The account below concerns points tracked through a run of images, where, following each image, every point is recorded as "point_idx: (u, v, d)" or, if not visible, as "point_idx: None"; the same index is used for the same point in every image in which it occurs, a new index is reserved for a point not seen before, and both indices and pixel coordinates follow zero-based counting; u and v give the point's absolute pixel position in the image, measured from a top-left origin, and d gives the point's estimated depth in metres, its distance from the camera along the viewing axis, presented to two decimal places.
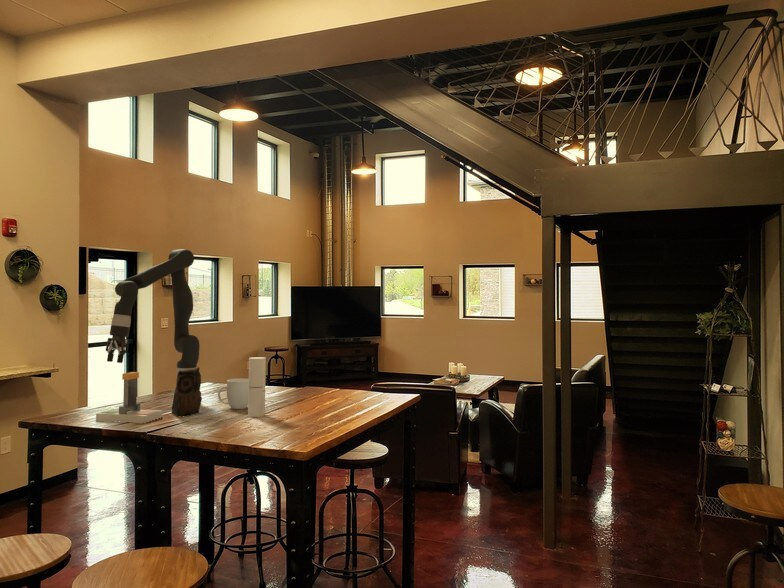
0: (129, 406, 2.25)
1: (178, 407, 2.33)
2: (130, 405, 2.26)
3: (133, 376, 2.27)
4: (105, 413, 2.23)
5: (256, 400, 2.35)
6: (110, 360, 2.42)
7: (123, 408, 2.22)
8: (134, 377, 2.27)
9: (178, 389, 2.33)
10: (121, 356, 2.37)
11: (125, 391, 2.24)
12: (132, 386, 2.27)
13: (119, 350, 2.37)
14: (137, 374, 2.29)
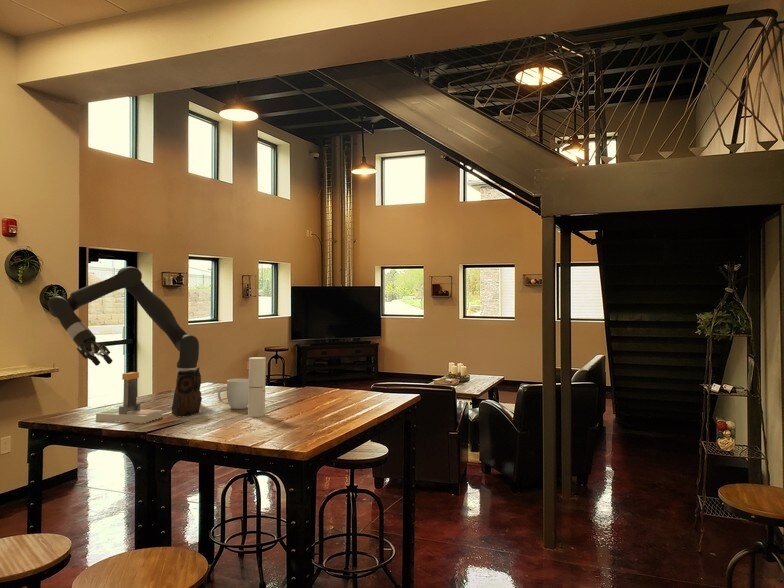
0: (129, 406, 2.25)
1: (178, 407, 2.33)
2: (130, 405, 2.26)
3: (133, 376, 2.27)
4: (105, 413, 2.23)
5: (256, 400, 2.35)
6: (109, 361, 2.33)
7: (123, 408, 2.22)
8: (134, 377, 2.27)
9: (178, 389, 2.33)
10: (92, 359, 2.25)
11: (125, 391, 2.24)
12: (132, 386, 2.27)
13: None
14: (137, 374, 2.29)
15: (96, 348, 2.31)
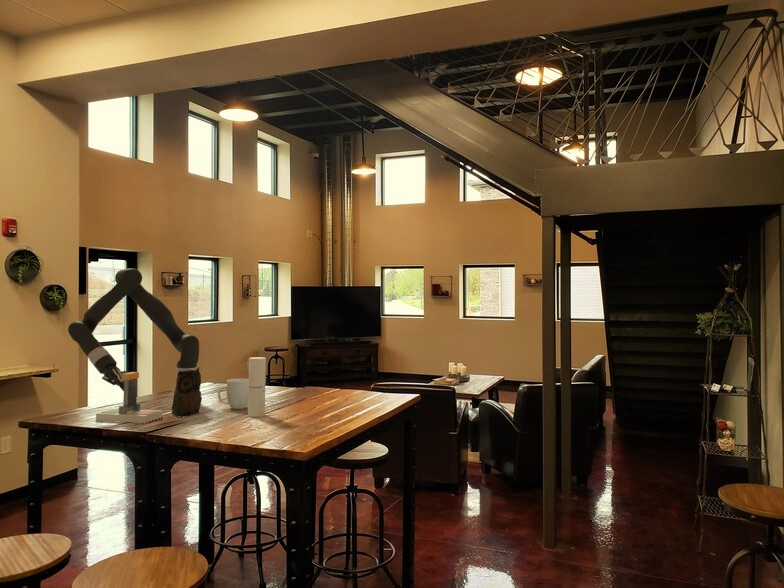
0: (129, 406, 2.25)
1: (178, 407, 2.33)
2: (130, 405, 2.26)
3: (133, 377, 2.27)
4: (105, 413, 2.23)
5: (256, 400, 2.35)
6: None
7: (123, 408, 2.22)
8: (134, 377, 2.27)
9: (178, 389, 2.33)
10: (120, 386, 2.27)
11: (125, 391, 2.24)
12: (132, 386, 2.27)
13: None
14: (137, 374, 2.29)
15: None
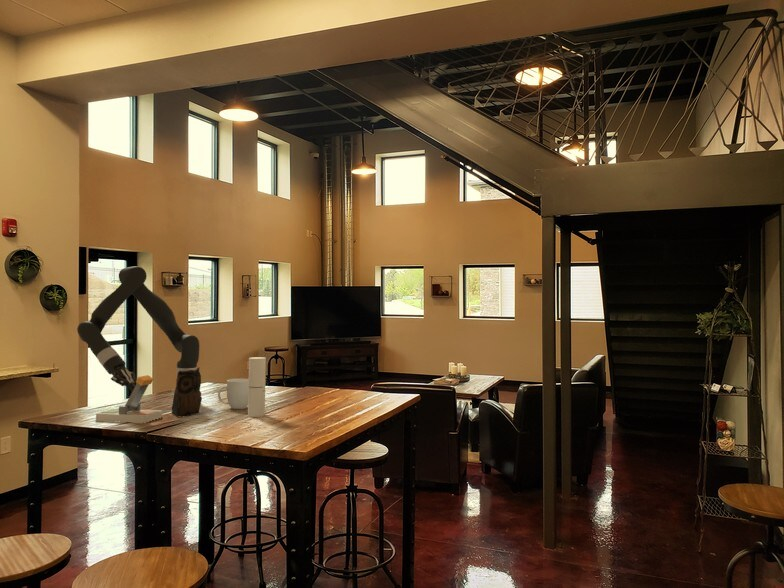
0: (130, 408, 2.25)
1: (178, 407, 2.33)
2: (131, 407, 2.26)
3: (146, 383, 2.25)
4: (105, 413, 2.23)
5: (256, 400, 2.35)
6: None
7: (123, 408, 2.22)
8: (147, 383, 2.26)
9: (178, 389, 2.33)
10: (129, 387, 2.26)
11: (133, 393, 2.24)
12: (141, 391, 2.26)
13: None
14: (151, 380, 2.28)
15: None
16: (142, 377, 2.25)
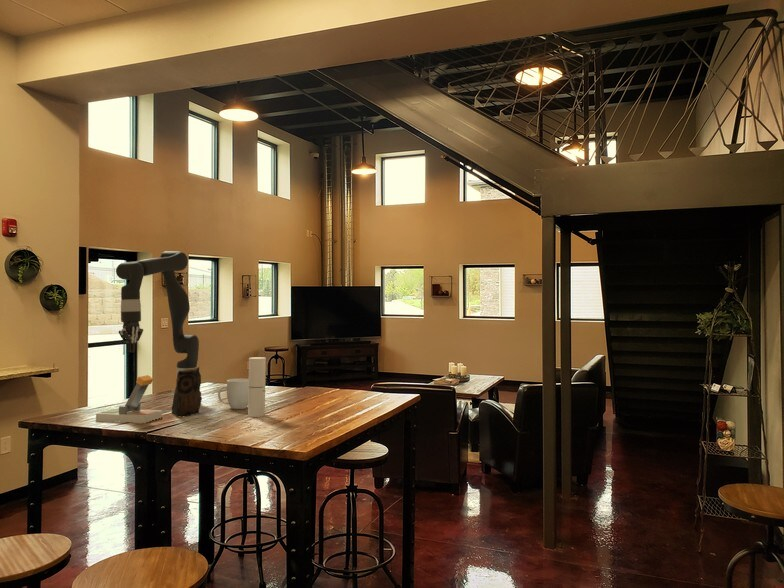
0: (130, 408, 2.25)
1: (178, 407, 2.33)
2: (131, 407, 2.26)
3: (146, 383, 2.25)
4: (105, 413, 2.23)
5: (256, 400, 2.35)
6: None
7: (123, 408, 2.22)
8: (147, 383, 2.26)
9: (178, 389, 2.33)
10: (128, 345, 2.25)
11: (133, 393, 2.24)
12: (141, 391, 2.26)
13: None
14: (151, 380, 2.28)
15: None
16: (142, 377, 2.25)
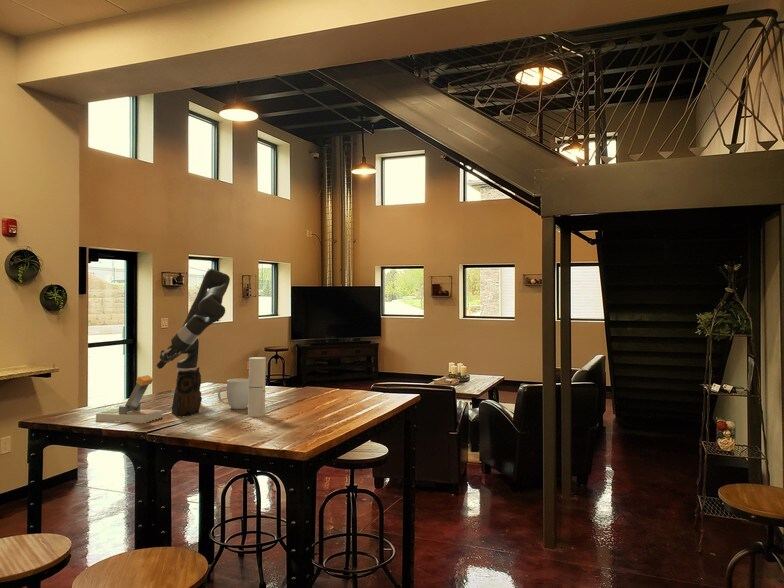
0: (130, 408, 2.25)
1: (178, 407, 2.33)
2: (131, 407, 2.26)
3: (146, 383, 2.25)
4: (105, 413, 2.23)
5: (256, 400, 2.35)
6: None
7: (123, 408, 2.22)
8: (147, 383, 2.26)
9: (178, 389, 2.33)
10: (160, 362, 2.23)
11: (133, 393, 2.24)
12: (141, 391, 2.26)
13: None
14: (151, 380, 2.28)
15: None
16: (142, 377, 2.25)
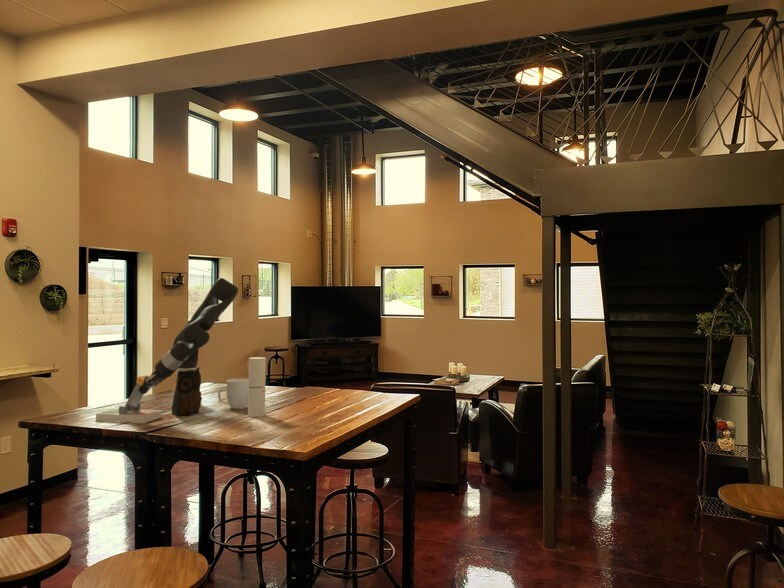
0: (130, 408, 2.25)
1: (178, 407, 2.33)
2: (131, 407, 2.26)
3: None
4: (105, 413, 2.23)
5: (256, 400, 2.35)
6: None
7: (123, 408, 2.22)
8: None
9: (178, 389, 2.33)
10: (144, 388, 2.24)
11: (133, 393, 2.24)
12: None
13: None
14: None
15: None
16: (142, 377, 2.25)
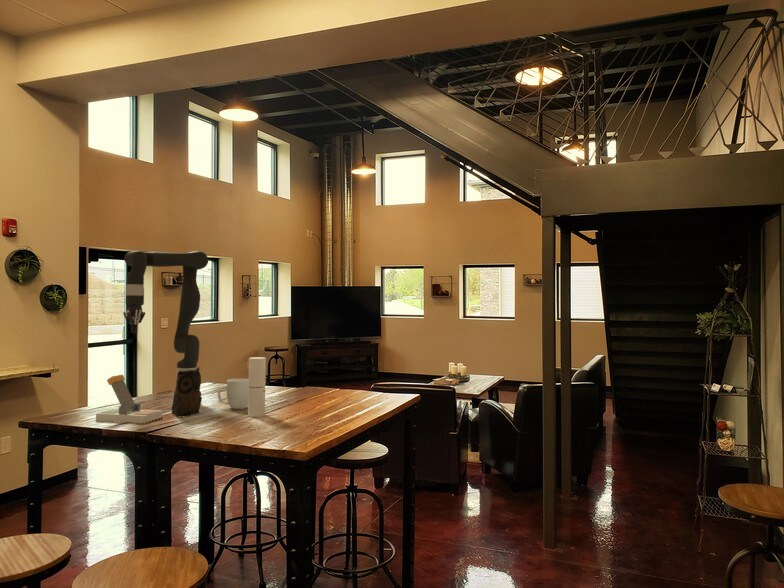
0: (127, 405, 2.25)
1: (178, 407, 2.33)
2: (128, 404, 2.26)
3: (118, 378, 2.28)
4: (105, 413, 2.23)
5: (256, 400, 2.35)
6: None
7: (123, 408, 2.22)
8: (120, 379, 2.29)
9: (178, 389, 2.33)
10: (131, 326, 2.47)
11: (117, 393, 2.25)
12: (122, 388, 2.28)
13: None
14: (122, 376, 2.31)
15: None
16: None
